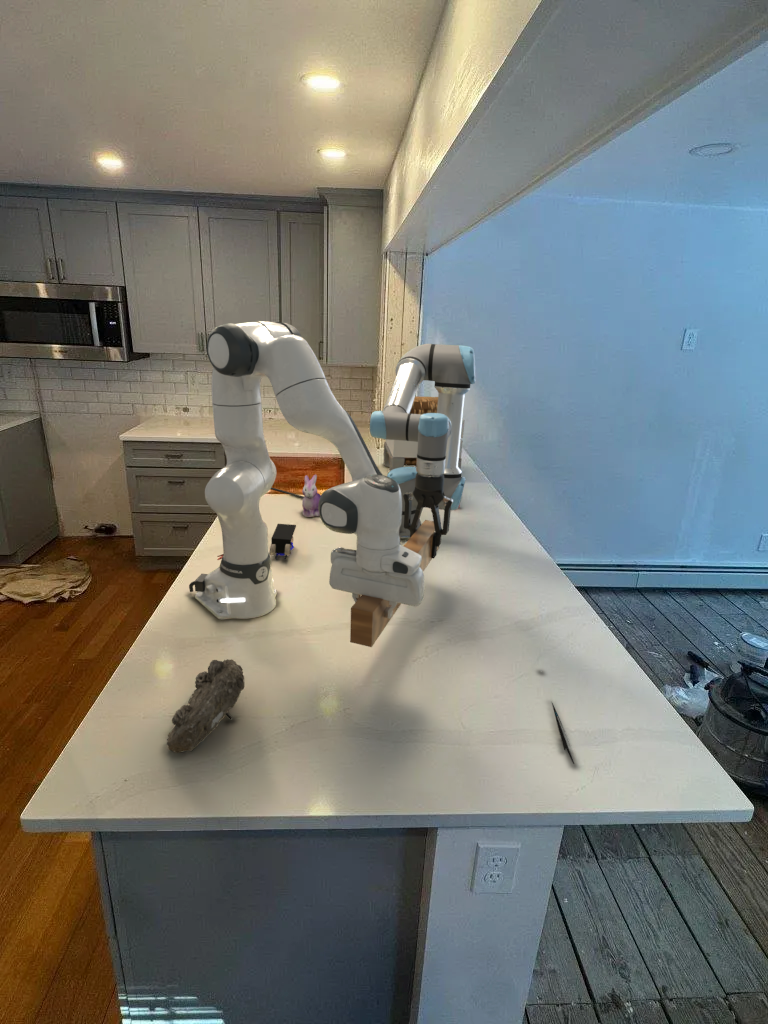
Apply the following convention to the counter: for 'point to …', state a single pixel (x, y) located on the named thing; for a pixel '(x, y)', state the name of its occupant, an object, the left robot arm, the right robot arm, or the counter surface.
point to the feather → (562, 734)
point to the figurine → (310, 497)
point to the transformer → (406, 451)
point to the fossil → (206, 705)
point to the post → (371, 609)
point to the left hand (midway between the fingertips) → (374, 613)
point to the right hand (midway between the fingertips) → (424, 554)
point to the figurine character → (282, 540)
